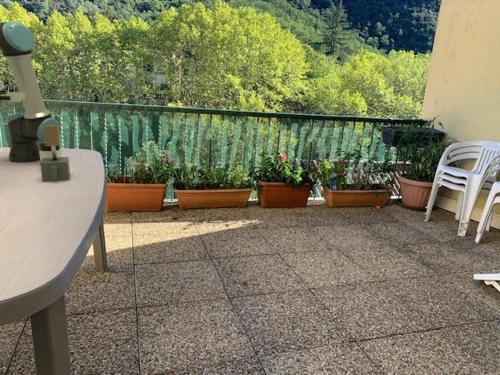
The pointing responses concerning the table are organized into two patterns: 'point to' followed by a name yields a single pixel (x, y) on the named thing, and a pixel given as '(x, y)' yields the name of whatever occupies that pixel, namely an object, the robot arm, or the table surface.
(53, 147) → the plunger
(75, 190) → the table surface
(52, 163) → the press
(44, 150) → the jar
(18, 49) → the robot arm
